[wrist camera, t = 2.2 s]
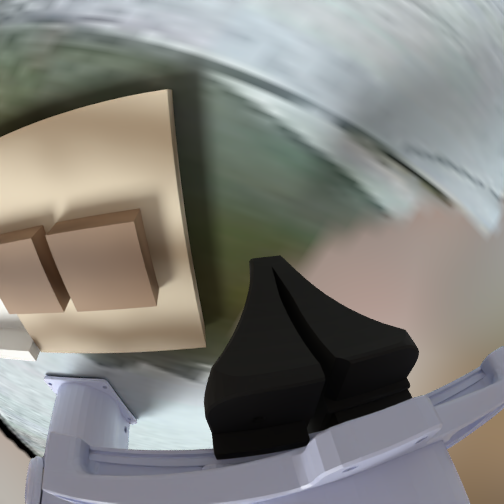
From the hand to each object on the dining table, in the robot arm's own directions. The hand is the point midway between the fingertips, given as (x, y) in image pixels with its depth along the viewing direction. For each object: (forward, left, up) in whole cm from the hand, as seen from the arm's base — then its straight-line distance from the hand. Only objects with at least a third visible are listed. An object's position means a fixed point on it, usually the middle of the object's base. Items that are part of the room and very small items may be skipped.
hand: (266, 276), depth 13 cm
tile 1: (0, +8, -3) cm, 9 cm away
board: (0, +11, -5) cm, 12 cm away
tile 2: (0, +14, -3) cm, 14 cm away
